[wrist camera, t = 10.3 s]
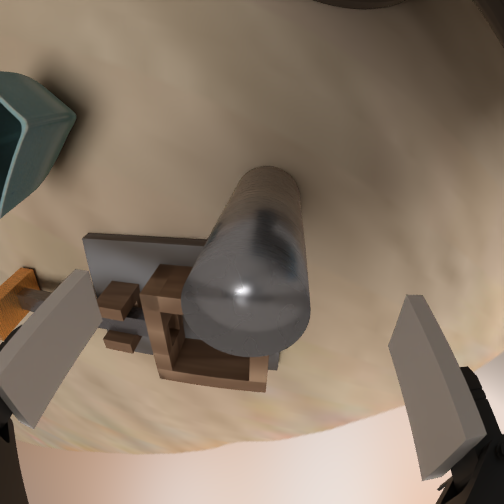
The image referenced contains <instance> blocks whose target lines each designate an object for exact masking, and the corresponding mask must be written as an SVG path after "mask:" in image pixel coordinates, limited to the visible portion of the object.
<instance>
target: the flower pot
mask: <svg viewBox="0 0 504 504" xmlns="http://www.w3.org/2000/svg"><path fill="white" fill-rule="evenodd" d="M75 121H76V114H75V113H74V112H73V111H72V110H71V109H70V108H69V107H67V106H66V105H65V104H64V103H63V102H61V101H60V100H59V99H58V98H57V97H56V96H55V95H53V94H52V93H51V92H50V91H49V90H47V89H46V88H45V87H44V86H42V85H41V84H40V83H38V82H37V81H35V80H33V79H32V78H30V77H27V76H25V75H22V74H18V73H12V72H2V71H0V219H1V218H2V217H3V216H4V215H5V214H6V213H8V212H9V211H10V210H11V209H13V208H14V207H15V206H16V205H18V204H19V203H20V202H21V201H23V200H24V199H25V198H26V197H28V196H29V195H30V194H31V193H32V192H34V191H35V190H36V189H37V188H38V187H39V186H40V184H41V183H42V182H43V181H44V179H45V178H46V176H47V175H48V173H49V172H50V170H51V168H52V167H53V165H54V163H55V161H56V160H57V158H58V156H59V153H60V151H61V149H62V147H63V145H64V142H65V140H66V138H67V136H68V134H69V132H70V130H71V128H72V127H73V125H74V123H75Z"/></svg>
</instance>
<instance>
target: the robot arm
mask: <svg viewBox="0 0 504 504" xmlns="http://www.w3.org/2000/svg"><path fill="white" fill-rule="evenodd" d="M315 1H318V2H321V3H325V4H329V5H334V6H339V7H346V8H357V9H372V8H382V7H387V6H392V5H395V4H398V3H401V2H403V1H405V0H315ZM473 2H474V3H475V4H476V6H477V7H478V9H479V10H480V11H481V13H482V14H483V16H484V17H485V19H486V20H487V22H488V23H489V25H490V26H491V28H492V30H493V31H494V33H495V34H496V36H497V38H498V39H499V41H500V43H501V44H502V46H503V48H504V0H473ZM102 321H103V320H102V317H101V313H100V310H99V307H98V303H97V300H96V297H95V293H94V289H93V286H92V282H91V278H90V274H89V271H86V270H78V269H75V270H74V271H73V272H72V273H71V274H70V275H69V276H68V277H67V278H66V279H65V280H64V281H63V282H62V283H61V284H60V285H59V286H58V287H57V288H56V289H55V290H54V291H53V292H52V293H51V294H50V296H49V297H48V298H47V299H46V300H45V301H44V302H43V303H42V304H41V305H40V306H39V307H38V308H37V310H36V311H35V312H34V313H33V314H32V315H31V316H30V317H29V318H28V320H27V321H26V322H25V323H24V324H23V325H20V326H19V327H18V328H16V329H15V330H13V331H12V332H11V333H10V334H9V335H8V336H7V338H6V339H5V340H4V342H2V343H1V345H0V504H29V503H28V499H27V496H26V492H25V488H24V483H23V479H22V474H21V470H20V465H19V459H18V454H17V448H16V441H15V434H14V426H13V422H12V420H11V418H10V417H11V415H12V413H13V414H14V415H15V417H16V418H17V419H18V420H19V421H20V422H21V423H22V424H24V425H26V426H28V427H30V428H32V429H34V428H35V427H36V425H37V423H38V421H39V420H40V418H41V416H42V414H43V413H44V411H45V409H46V408H47V406H48V404H49V402H50V401H51V399H52V398H53V396H54V394H55V393H56V391H57V389H58V388H59V386H60V384H61V383H62V381H63V380H64V378H65V376H66V375H67V373H68V372H69V370H70V369H71V367H72V365H73V364H74V362H75V361H76V359H77V358H78V356H79V355H80V353H81V352H82V350H83V349H84V347H85V346H86V344H87V343H88V341H89V340H90V338H91V337H92V335H93V334H94V332H95V331H96V329H97V328H98V327H99V325H100V324H101V322H102ZM388 347H389V350H390V353H391V357H392V360H393V363H394V366H395V370H396V373H397V377H398V380H399V384H400V387H401V391H402V394H403V398H404V402H405V406H406V409H407V413H408V417H409V421H410V425H411V430H412V434H413V438H414V443H415V447H416V452H417V456H418V461H419V466H420V472H421V476H422V481H424V480H429V479H434V478H438V477H442V476H443V475H444V474H445V473H447V472H448V471H449V470H450V469H451V472H452V477H451V478H449V479H448V480H447V481H446V482H444V483H443V484H442V485H441V486H440V487H439V488H438V489H437V490H439V491H440V490H441V489H442V488H444V487H445V488H444V490H443V492H442V494H441V495H440V497H439V499H438V501H437V502H436V504H504V434H501V431H500V429H499V426H498V424H497V422H496V419H495V416H494V414H493V412H492V409H491V407H490V404H489V402H488V400H487V399H486V395H485V393H484V391H483V390H482V386H481V384H480V382H479V380H478V377H477V376H476V375H475V374H474V373H473V371H472V370H471V369H470V368H469V367H468V366H467V367H459V365H458V363H457V361H456V358H455V356H454V354H453V352H452V350H451V348H450V346H449V344H448V342H447V340H446V338H445V336H444V334H443V332H442V330H441V328H440V326H439V324H438V322H437V321H436V319H435V317H434V315H433V313H432V311H431V309H430V308H429V306H428V304H427V302H426V300H425V298H424V297H423V295H406V297H405V300H404V303H403V306H402V309H401V312H400V315H399V318H398V321H397V323H396V326H395V329H394V332H393V334H392V337H391V340H390V342H389V345H388Z"/></svg>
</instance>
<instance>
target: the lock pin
mask: <svg viewBox="0 0 504 504" xmlns="http://www.w3.org/2000/svg"><path fill="white" fill-rule="evenodd" d="M50 294H51V293H50V292H45V291H40V289H39V286H38V283H37V280H36V277H35V274H34V271H33V270H32V269H26V268H20V269H19V270H18V271H16V272H15V273H14V274H13V275H12V276H11V277H10V278H9V279H7V280H6V281H5V282H4V283H3V284H2V285H1V286H0V340H2V341H4V340H5V338H6V337H7V336H8V335H9V334H10V333H11V331H12V330H13V329H14V328H15V327H16V326H17V325H18V323H19V322H20V321H21V320H22V319H23V318H24V317H25V316H26V315H27V313H28V312H29V311H31V312H35V311H36V310H37V308H38V307H39V306H40V305H41V304H42V303H43V302H44V301H45V300H46V299H47V298H48V297H49V296H50ZM102 320H103V321H102V322H101V324H100V325H99V327H98V328H103V329H108V330H113V331H118V332H124V333H129V334H134V335H140V336H146V337H149V335H148V330H147V326H146V322H145V318H144V313H143V309H142V308H138V307H132V309H131V310H130V312H129V314H128V315H127V317H126V318H125V320H124V321H118V320H113V319H107V318H102Z"/></svg>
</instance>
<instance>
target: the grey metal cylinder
mask: <svg viewBox="0 0 504 504" xmlns="http://www.w3.org/2000/svg"><path fill="white" fill-rule="evenodd" d="M181 308H182V312H183V315H184V318H185V320H186V322H187V324H188V325H189V327H190V328H191V330H192V331H193V332H194V333H195V334H196V335H197V336H198V337H199V338H200V339H201V340H202V341H204V342H205V343H207V344H208V345H210V346H211V347H213V348H215V349H217V350H219V351H222V352H225V353H227V354H231V355H235V356H241V357H262V356H268V355H272V354H275V353H278V352H280V351H282V350H284V349H286V348H288V347H290V346H291V345H293V344H294V343H295V342H296V341H297V340H298V339H299V338H300V337H301V336H302V334H303V333H304V331H305V330H306V328H307V325H308V323H309V319H310V297H309V284H308V272H307V261H306V250H305V240H304V230H303V220H302V211H301V202H300V194H299V189H298V186H297V184H296V182H295V181H294V179H293V178H292V177H291V176H290V175H289V174H288V173H287V172H285V171H283V170H282V169H279V168H276V167H271V166H263V167H258V168H255V169H252V170H251V171H249V172H247V173H246V174H245V175H244V176H243V177H242V178H241V180H240V181H239V183H238V185H237V187H236V188H235V190H234V192H233V194H232V196H231V197H230V199H229V201H228V203H227V205H226V206H225V208H224V210H223V212H222V214H221V216H220V217H219V219H218V221H217V223H216V225H215V227H214V228H213V230H212V232H211V234H210V236H209V238H208V240H207V241H206V243H205V245H204V247H203V249H202V251H201V253H200V255H199V257H198V259H197V260H196V262H195V264H194V266H193V268H192V270H191V272H190V274H189V276H188V278H187V280H186V282H185V284H184V286H183V289H182V293H181Z"/></svg>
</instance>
